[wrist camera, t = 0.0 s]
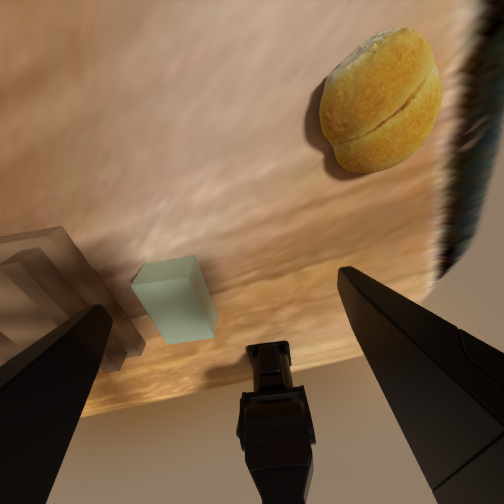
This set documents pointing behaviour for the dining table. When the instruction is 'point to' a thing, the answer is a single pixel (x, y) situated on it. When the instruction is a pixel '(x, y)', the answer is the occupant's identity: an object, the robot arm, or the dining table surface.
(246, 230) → the dining table surface
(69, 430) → the robot arm
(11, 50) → the dining table surface
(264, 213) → the dining table surface
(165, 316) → the pale green block
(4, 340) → the brown wooden stand
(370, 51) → the bread roll
